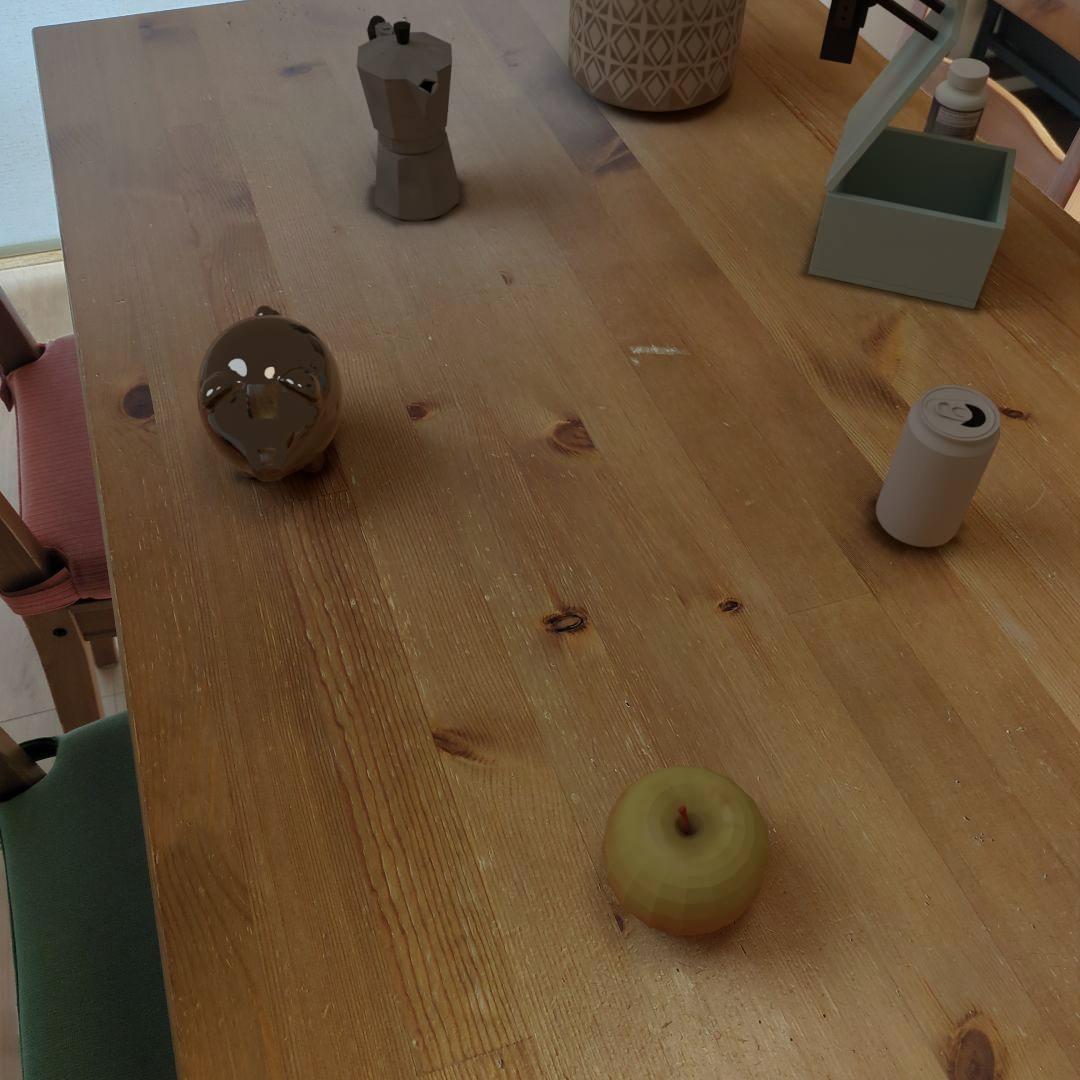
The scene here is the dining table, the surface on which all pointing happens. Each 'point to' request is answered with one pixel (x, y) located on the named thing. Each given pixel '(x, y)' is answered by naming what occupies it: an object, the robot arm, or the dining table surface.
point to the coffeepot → (409, 119)
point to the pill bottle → (959, 100)
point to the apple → (685, 850)
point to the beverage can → (938, 465)
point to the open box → (917, 217)
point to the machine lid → (897, 78)
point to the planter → (655, 50)
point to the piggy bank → (270, 395)
